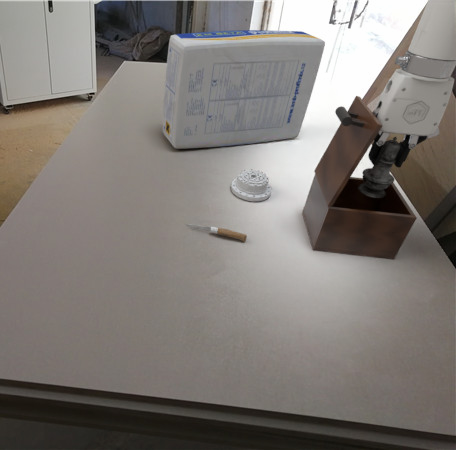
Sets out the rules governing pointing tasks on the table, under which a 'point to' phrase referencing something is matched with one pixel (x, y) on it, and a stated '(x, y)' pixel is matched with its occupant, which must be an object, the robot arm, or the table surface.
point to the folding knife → (220, 231)
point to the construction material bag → (238, 86)
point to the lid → (346, 148)
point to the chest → (358, 221)
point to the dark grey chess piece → (380, 172)
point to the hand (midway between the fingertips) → (384, 162)
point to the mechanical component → (251, 186)
